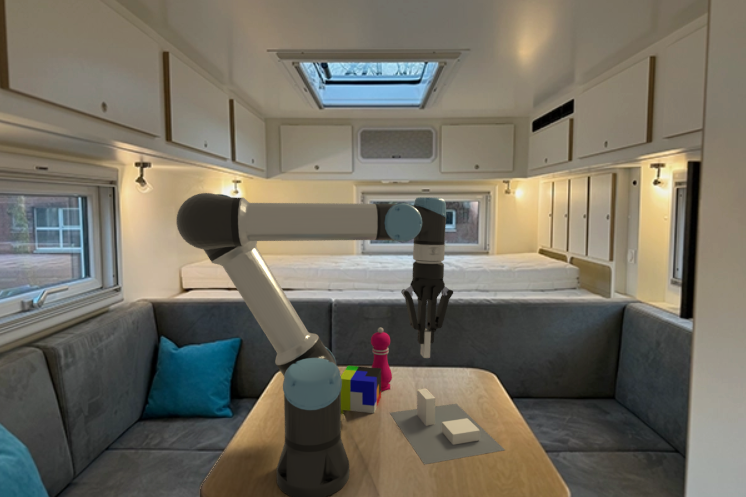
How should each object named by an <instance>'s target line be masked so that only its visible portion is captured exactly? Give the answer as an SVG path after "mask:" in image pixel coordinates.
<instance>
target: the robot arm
mask: <svg viewBox="0 0 746 497" xmlns="http://www.w3.org/2000/svg"><path fill="white" fill-rule="evenodd" d="M446 223H447V204H446V200H445V199H444V198H442V197H428V196H427V197H425V196H423V197H422V196H421V197H416V198H415V199H414V203H413V204H412V205H411V204H408V203H406V202H405V203H404V202H403V203H402V202H400V203H399V202H398V203H339V202H337V203H332V202H331V203H329V202H327V203H324V202H323V203H320V202H319V203H318V202H317V203H316V202H315V203H314V202H313V203H312V202H311V203H310V202H309V203H308V202H306V203H305V202H298V203H297V202H250V201H248V200H247V199H246V198H245V197H234V196H233V197H232V196H229V195H226V194H221V193H217V194H215V193H210V192H202V193H201V192H200V193H197V194H194V195H192V196H190V197H189V198H187V199H186V200H184V201H183V203H182V204H181V205H180V207H179V209H178V211H177V214H176V227H177V231H178V233H179V235H180V236H181V237H182V239H183V240H184V241H185V242H186V243H188V245H190V246H192V247H194V248H196V249H200V250H203V251H204V253H205V254H206V255H207V257H208V259H209V261H210V262H211V264H214V265H219V266H221V267H223V269H224V271H225V272H226V274H227V276H228V277H229V279H230V281H231V283H233V285H234V286H235V288H236V290H237V291H238V293H239V295H240V297H241V298H242V299H243V301H244V303H245V304H246V306H247V308H248V309H249V311H250V313H251V314H252V315H253V317H254V319H255V320H256V322H257V323H258V325H259V326H260V328H261V330H262V331H263V333H264V334H265V336H266V337H267V340H268V341H269V342H270V344H271V345H272V347H273V349H274V351H276V357H275V362H274V363H275V365H276V366H277V368H278V369H279V371H280V373H281V375H282V376H283V381H282V391H283V399H284V400H283V401H284V406H283V409H284V411H283V412H284V413H283V414H284V444H283V447H282V451H281V454H280V455H279V456H280V457H279V460H278V463H277V466H276V484H277V486H278V488H279V489H280V490H281V491H282V493H284V494H286V495H287V496H289V497H328V496H331V495H333V494H335V493H337V492H339V491H340V490H341V489H342V488H343V487H345V485H346V484H347V482H348V480H349V478H350V460H349V458H348V455H347V452H346V449H345V446H344V442H343V440H342V425H341V424H342V416H341V415H342V414H341V387H342V381H341V371H340V369H339V367H338V364H337V360H336V358H335V355H334V354H333V353H332V352H331V350H330V349H329V348H328V347H326V346H325V345H324V343H323V340H321V338H320V337H319V335H318V334H316V333H312V332H309V331H308V329H307V328H306V326H305V324H304V322H303V321H302V319H301V318H300V316H299V315H298V312H297V311H296V309H295V308H294V306H293V305H292V303H291V301H290V299H289V297H287V295H286V293H285V290H284V289H282V287H281V285H280V284H279V283H280V282H279V281H278V280H277V278H276V276H275V275H274V273H273V271H271V269H270V267H269V265H268V264H267V261H265V259H264V257H263V255H262V254H261V252H260V251H259V249H258V247H257V244H258V242H296V241H297V242H299V241H300V242H304V241H309V242H310V241H318V242H319V241H323V242H324V241H396V242H401V243H402V242H403V243H405V242H409V241H411V240H413V248H412V249H413V251H412V252H413V253H412V259H413V260H414V261H413V263H412V278H411V279H412V280H411V282H410V284H409V285H410V286H409V287H407V288H406V289H402V290H401V292H400V293H401V294H402V296H403V298H404V301H405V305H406V309H407V310H406V311H407V314H408V319H409V320H408V321H409V325H410V326H411V328H413V329H414V330H416V331H417V339H416V340H417V343H418V344H420V356H421V357H422V358H424V359H429V358H431V344H434V342H435V332H436V331H437V329H441V328H442V327H443V324H444V320H445V318H446V317H445V316H446V312H447V309H448V305H449V303H450V302H449V301H450V299H451V297H452V296H453V294H454V291H453V290H452V289H450V288H448V287H447V286H446V285H445V282H444V276H445V275H444V274H445V273H444V272H445V264H444V263H443V261H445V253H446V252H445V248H446V246H445V245H446V243H445V241H446ZM413 292H414V293H413ZM414 294H415V296H416V297H417V313H416V308H415V303H414V299H413V295H414ZM439 295H441V296H440V298H439ZM438 298H439V303H437V302H438ZM437 304H438V305H437ZM436 310H437V311H436ZM426 313H427V314H426ZM426 327H427V328H426Z"/></svg>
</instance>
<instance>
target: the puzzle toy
mask: <svg viewBox="0 0 746 497" xmlns="http://www.w3.org/2000/svg"><path fill="white" fill-rule="evenodd" d="M371 367H372V366H370V367H369V366H357V365H347V366H346V368H345V369H344V371H343V372H342V374H340V376H341V381H342V387H341V415H345V413H344V411H347V412H348V411H349V412H359V413H360V412H361V413H370V414H375V412H376V410H377V407H378V406H379V403H380V400H381V398H382V391H381V368H371Z"/></svg>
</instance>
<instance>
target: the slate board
mask: <svg viewBox="0 0 746 497" xmlns="http://www.w3.org/2000/svg"><path fill="white" fill-rule="evenodd" d="M389 414H390V416H391V417H392V419H393V420H394V421H395V424H396V425H397V426H398V427H399V429H400V431H401V432H402V433H403V435H404V436H405V438H406V440H407V441H408V442H409V444H410V446H411V447H412V448H413V450H414V451H415V453H416V454H417V456H418V457H419V459H420V460H421V462H422V463H423V465H429V464H436V463H440V462H445V461H450V460H457V459H458V460H459V459H463V458H468V457H474V456H475V457H476V456H479V455H481V456H482V455H485V454H493V453H497V452H503V451H506V449H505V448H504V447H503V446H502V445H501V444H500V443H499V442H498V441H496V440H495V439H494V438H493V437H492V436H491V435H490V434H489V432H487V431H486V430H485V429H484V428H483V427H482V426H481V425H480V424H479V423H478V422H477V421H475V420H474V419H473V418H472V416H470V415H469V414H468V413H467V412H466V411H465V410H464V409H463V408H462V407H461V406H459V404H458V403H452V404H445V405H438V406H437V405H435V424H433V425H427V426H426V425H425V424H424V423H423V421H422V420H421V419H420V418H419V416H418V415H417V408H414V409H406V410H401V411H392V412H391V411H390V412H389ZM466 418H468V419H469V420H470V421H471V422H472V423H473V424H474V425H475V426H476V427H477V428H478V429H479V430H480V440H479V441H473V442H467V443H460V444H454V445H453V444H452V443H451V442H450V441H449V440H448V438H447V437H446V436H445V435H444V434H443V433H442V422H445V421H452V420H459V419H466Z"/></svg>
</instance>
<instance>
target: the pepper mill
mask: <svg viewBox="0 0 746 497" xmlns="http://www.w3.org/2000/svg"><path fill="white" fill-rule="evenodd" d="M370 344H371V345H372V351H371V352H372V354H373V362H372V365H371V366H370V367H371V368H381V392H385V391H389V390H390V391H391V384H390V383H391V381H392V379H393V374H392V370H391V368H390V365H389V363H388V354H389V350H390V349H389V346H390V344H391V337H390V335H389V334H388V333H387V332H385V331H384V328H383V327H378V328H377V332H375V333H373V334H372V336H370Z"/></svg>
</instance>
